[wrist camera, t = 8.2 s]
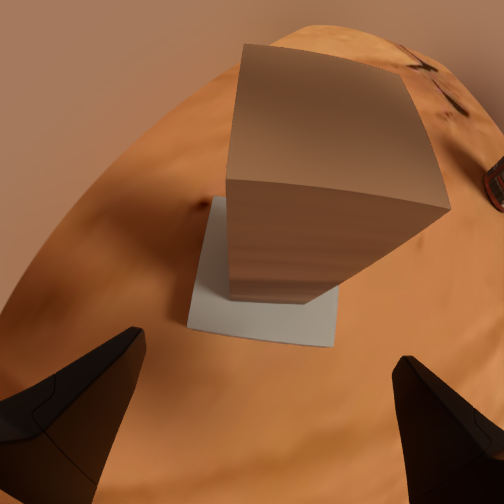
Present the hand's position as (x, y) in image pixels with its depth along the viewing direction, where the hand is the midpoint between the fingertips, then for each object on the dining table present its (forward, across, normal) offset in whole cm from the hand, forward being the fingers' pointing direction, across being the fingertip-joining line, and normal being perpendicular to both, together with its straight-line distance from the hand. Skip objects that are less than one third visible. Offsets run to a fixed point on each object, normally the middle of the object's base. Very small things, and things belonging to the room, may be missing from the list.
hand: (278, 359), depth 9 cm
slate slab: (+11, 0, +4) cm, 12 cm away
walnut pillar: (+9, 0, +1) cm, 9 cm away
